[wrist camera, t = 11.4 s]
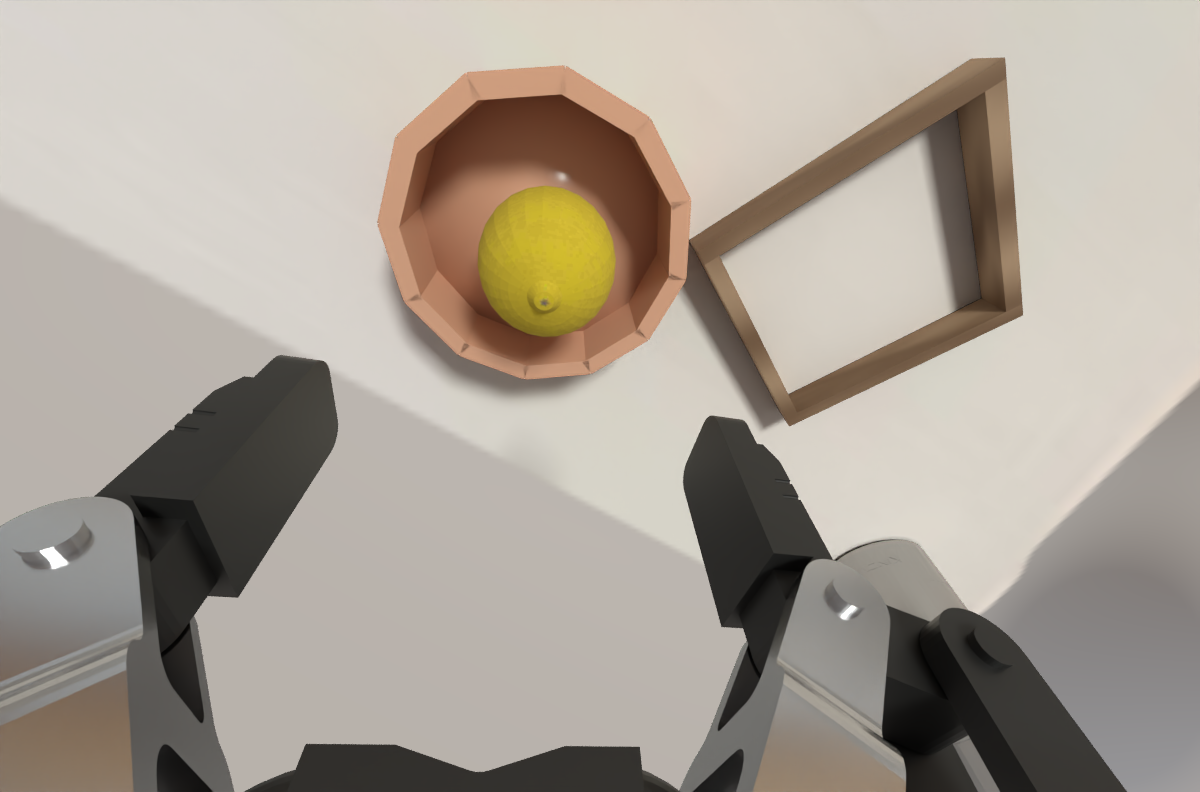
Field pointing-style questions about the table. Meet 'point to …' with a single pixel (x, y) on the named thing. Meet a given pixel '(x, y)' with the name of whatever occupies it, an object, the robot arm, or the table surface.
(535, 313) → the lemon
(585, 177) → the bowl
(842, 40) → the table surface
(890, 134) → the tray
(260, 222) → the table surface
